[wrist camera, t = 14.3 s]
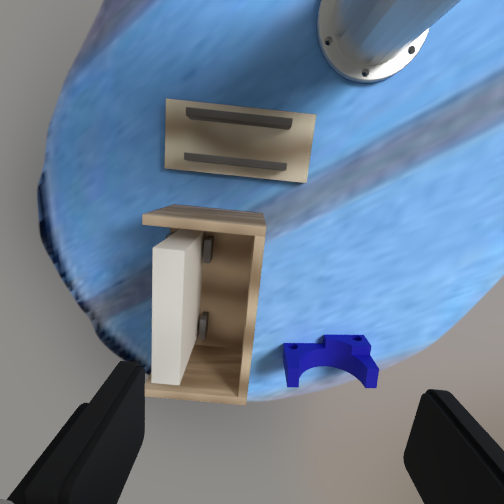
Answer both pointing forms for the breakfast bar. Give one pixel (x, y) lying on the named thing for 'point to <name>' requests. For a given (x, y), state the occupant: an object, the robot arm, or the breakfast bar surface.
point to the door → (175, 303)
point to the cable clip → (331, 358)
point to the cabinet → (219, 302)
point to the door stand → (238, 140)
